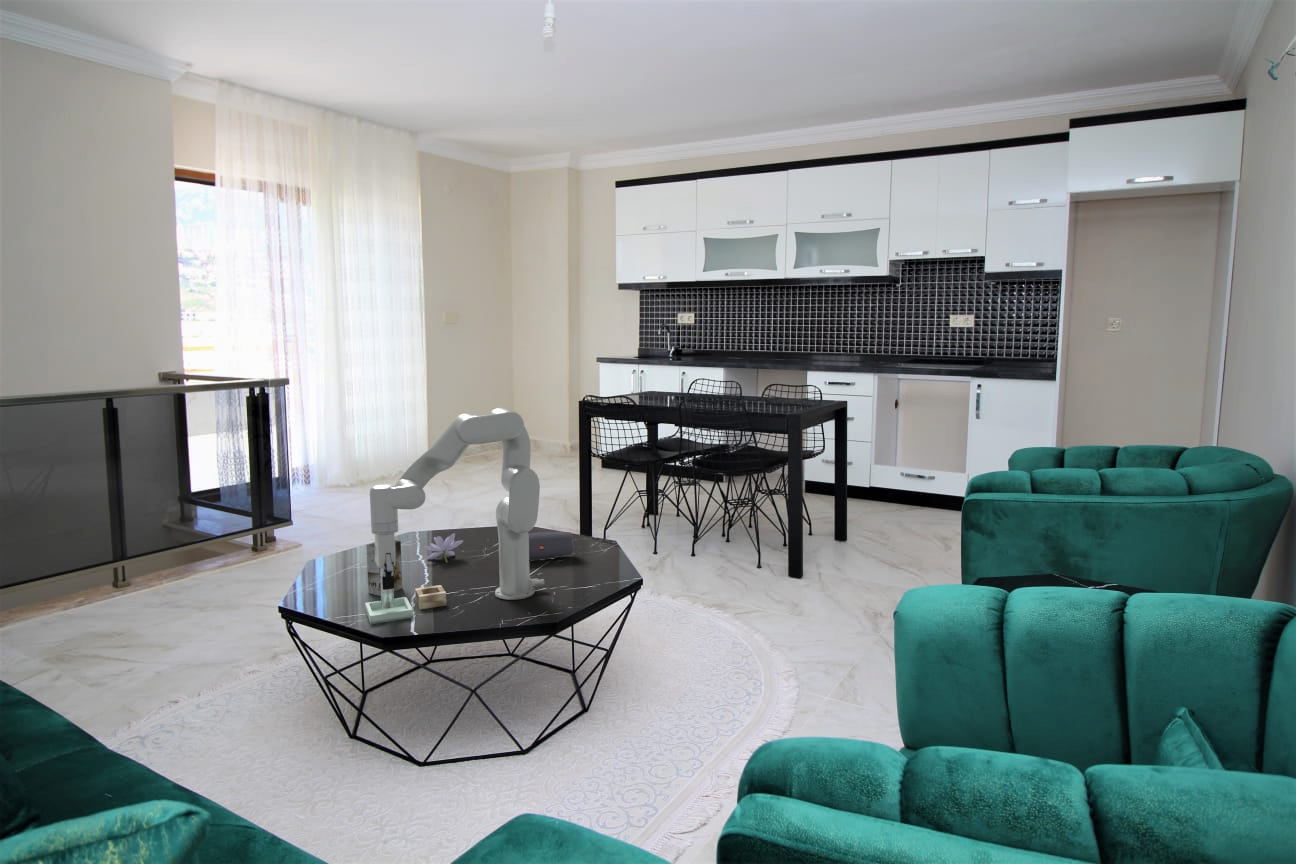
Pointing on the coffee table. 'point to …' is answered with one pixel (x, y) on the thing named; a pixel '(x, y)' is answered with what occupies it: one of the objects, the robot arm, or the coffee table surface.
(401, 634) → the coffee table surface
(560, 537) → the bluetooth speaker
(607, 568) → the coffee table surface
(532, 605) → the coffee table surface
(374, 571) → the brown cookie box
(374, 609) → the tray
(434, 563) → the coffee table surface
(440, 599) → the socket block
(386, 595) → the pin
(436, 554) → the water lily
